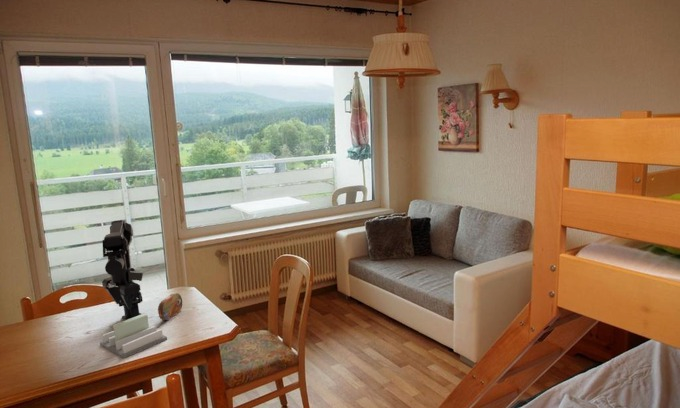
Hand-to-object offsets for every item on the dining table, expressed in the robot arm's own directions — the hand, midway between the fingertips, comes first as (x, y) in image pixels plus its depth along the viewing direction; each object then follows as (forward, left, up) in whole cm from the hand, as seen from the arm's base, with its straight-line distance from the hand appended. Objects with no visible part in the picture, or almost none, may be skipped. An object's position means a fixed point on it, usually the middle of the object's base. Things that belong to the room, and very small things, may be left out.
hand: (124, 306), depth 184 cm
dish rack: (+8, -2, -12) cm, 15 cm away
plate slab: (+8, -2, -11) cm, 14 cm away
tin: (-2, +20, -12) cm, 24 cm away
